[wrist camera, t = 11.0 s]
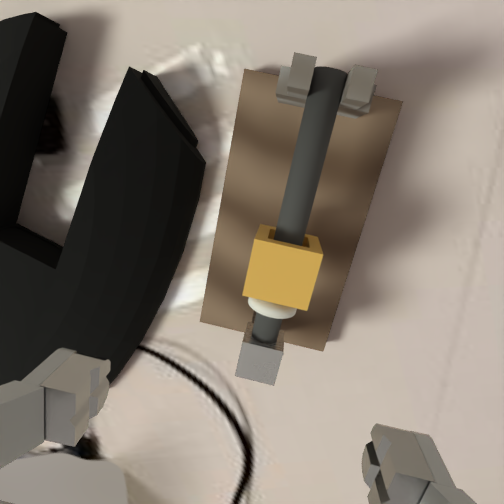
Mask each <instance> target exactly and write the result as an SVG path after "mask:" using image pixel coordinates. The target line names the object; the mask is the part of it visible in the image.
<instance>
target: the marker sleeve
mask: <svg viewBox="0 0 504 504" xmlns="http://www.w3.org/2000/svg"><path fill="white" fill-rule="evenodd" d="M275 231H276V227H272V226H268V225H263V224H260V226H259V229H258V231H257V234H256V236H255V239H254V243H253V248H252V252H251V257H250V261H249V266H248V271H247V275H246V280H245V285H244V289H243V294H242V296H246V297H251V298H255V299H259V300H263V301H267V302H272V303H276V304H280V305H284V306H288V307H293V308H297V309H301V310H305V311H307V310H308V306H309V303H310V299H311V296H312V292H313V289H314V285H315V282H316V278H317V275H318V271H319V268H320V265H321V261H322V258H323V252H322V249H321V245H320V242H319V239H318V237H316V236H312V235H307V234H305V236H304V240H303V244H302V246H299V245H294V244H290V243H286V242H281V241H277V240H274V235H275Z"/></svg>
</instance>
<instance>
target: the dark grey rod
mask: <svg viewBox="0 0 504 504" xmlns="http://www.w3.org/2000/svg"><path fill="white" fill-rule="evenodd" d="M346 78H347V73H345V72H344V71H341V70H338V69H335V68H330V67H315V68H314V72H313V76H312V80H311V84H310V89H309V92H308V95H307V99H306V103H305V108H304V112H303V116H302V120H301V125H300V129H299V133H298V137H297V142H296V146H295V150H294V154H293V159H292V163H291V167H290V172H289V176H288V180H287V184H286V189H285V193H284V197H283V201H282V206H281V210H280V214H279V218H278V223H277V227H276V231H275V235H274V240H277V241H281V242H286V243H290V244H294V245H299V246H302V244H303V240H304V236H305V233H306V229H307V225H308V221H309V217H310V214H311V210H312V206H313V202H314V199H315V195H316V191H317V187H318V183H319V180H320V176H321V172H322V168H323V165H324V161H325V157H326V153H327V149H328V146H329V142H330V138H331V134H332V131H333V127H334V123H335V119H336V115H337V112H338V108H339V104H340V100H341V96H342V93H343V89H344V85H345V81H346ZM248 304H249V306H250V307H251V308H252V309H253V310H255V311H256V316H255V321H254V325H253V329H252V336H253V338H254V339H255V340H257V341H259V342H261V343H265V344H272V343H275V342H276V341H277V338H278V335H279V331H280V327H281V323H282V320H283V319H287V318H291V317H293V316H294V315H295V314H296V310H297V308H293V307H288V306H284V305H280V304H276V303H272V302H267V301H263V300H259V299H255V298H251V297H249V299H248Z"/></svg>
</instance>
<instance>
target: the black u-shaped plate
mask: <svg viewBox="0 0 504 504" xmlns="http://www.w3.org/2000/svg"><path fill="white" fill-rule="evenodd" d="M59 26H60V24H58V23H56V22H54V21H52V20H50V19H48V18H47V17H45V16H43V15H41V14H39V13H37V12H33V13H28V14H23V15H19V16H15V17H12V18H8V19H4V20H2V21H0V386H1V385H3V384H6V383H9V382H12V381H15V380H16V381H22V380H23V379H24V378H25V377H26V376H27V375H28V374H30V373H31V372H32V371H33V370H34V369H35V368H36V367H38V366H39V365H40V364H41V363H42V362H43V361H44V360H46V359H47V358H48V357H49V356H50V355H51V354H52V353H54V352H55V351H56V350H57V349H59V348H66V349H70V350H74V351H77V352H78V351H79V352H83V353H87V354H90V355H94V356H98V357H102V358H105V359H108V360H109V361H110V362H111V364H110V372H109V373H108V374H107V376H106V378H107V379H108V381H109V385H110V384H111V383H112V381H113V380H114V379H115V378H116V377H117V376H118V374H119V373H120V372H121V370H122V369H123V367H124V366H125V364H126V363H127V361H128V360H129V358H130V357H131V356H132V354H133V353H134V351H135V350H136V348H137V347H138V345H139V344H140V342H141V341H142V339H143V338H144V336H145V334H146V332H147V330H148V328H149V326H150V324H151V322H152V320H153V319H154V317H155V315H156V313H157V311H158V309H159V307H160V305H161V303H162V302H163V300H164V298H165V295H166V293H167V290H168V288H169V285H170V283H171V280H172V278H173V275H174V273H175V270H176V268H177V266H178V263H179V261H180V258H181V256H182V253H183V251H184V247H185V244H186V240H187V237H188V234H189V230H190V227H191V224H192V220H193V217H194V214H195V210H196V207H197V203H198V200H199V196H200V190H201V185H202V180H203V175H204V169H205V164H206V162H205V160H204V159H203V157H202V156H201V154H200V153H199V151H198V150H197V148H196V146H197V144H198V139H197V138H196V136H195V135H194V133H193V132H192V130H191V128H190V127H189V125H188V124H187V122H186V121H185V119H184V118H183V116H182V115H181V113H180V111H179V110H178V108H177V107H176V105H175V104H174V102H173V101H172V99H171V98H170V96H169V95H168V93H167V91H166V90H165V88H164V87H163V85H162V84H161V82H160V81H159V79H158V78H157V77H156V76H154V75H152V74H151V73H149V72H147V71H145V70H143V73H141V72H139V71H137V70H135V69H133V68H131V67H129V68H128V71H127V73H126V75H125V78H124V80H123V83H122V85H121V87H120V90H119V92H118V94H117V97H116V99H115V102H114V104H113V107H112V110H111V112H110V115H109V117H108V120H107V122H106V125H105V127H104V130H103V133H102V135H101V138H100V140H99V143H98V146H97V148H96V151H95V153H94V156H93V159H92V161H91V164H90V167H89V170H88V173H87V176H86V180H85V183H84V186H83V189H82V192H81V195H80V198H79V201H78V204H77V207H76V210H75V213H74V216H73V219H72V222H71V225H70V228H69V231H68V234H67V237H66V240H65V243H64V247H62V246H60V245H58V244H56V243H54V242H52V241H50V240H48V239H46V238H44V237H42V236H40V235H38V234H36V233H34V232H32V231H30V230H28V229H26V228H25V227H23V226H21V225H19V224H17V223H16V222H17V218H18V215H19V211H20V207H21V203H22V200H23V196H24V192H25V189H26V185H27V181H28V177H29V174H30V170H31V166H32V162H33V159H34V155H35V151H36V148H37V144H38V140H39V136H40V133H41V129H42V125H43V122H44V118H45V114H46V110H47V107H48V103H49V99H50V96H51V92H52V88H53V84H54V81H55V77H56V73H57V70H58V66H59V62H60V58H61V55H62V51H63V47H64V43H65V40H66V36H67V32H65V31H63V30H62V29H60V28H59Z"/></svg>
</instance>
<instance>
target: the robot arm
mask: <svg viewBox="0 0 504 504" xmlns="http://www.w3.org/2000/svg"><path fill="white" fill-rule="evenodd" d="M110 364H111V362H110V361H109V360H108V359H105V358H102V357H98V356H94V355H90V354H87V353H83V352H79V351H78V352H77V351H74V350H70V349H66V348H59V349H57V350H56V351H55V352H54V353H52V354H51V355H50V356H49V357H48V358H47V359H46V360H44V361H43V362H42V363H41V364H40V365H39V366H38V367H36V368H35V369H34V370H33V371H32V372H31V373H30V374H28V375H27V376H26V377H25V378H24V379H23V380H22V381H16V380H15V381H12V382H9V383H6V384H3V385H1V386H0V469H1V468H2V467H4V466H6V465H7V464H9V463H11V462H12V461H14V460H16V459H17V458H19V457H20V456H22V455H24V454H25V453H27V452H29V451H30V450H32V449H33V448H35V447H37V446H38V445H40V444H42V443H43V442H44V440H46V441H51V442H55V443H60V444H65V445H69V446H75V445H76V444H77V442H78V441H79V439H80V438H81V437H82V435H83V434H84V433H85V431H86V430H87V428H88V425H89V419H90V418H92V417H94V416H96V415H97V414H98V413H99V411H100V410H101V409H102V407H103V405H104V403H105V400H106V398H107V395H108V391H109V381H108V379H107V378H106V376H107V374H108V373H109V372H110ZM371 437H372V440H373V441H371V442H370V443H368V444H366V446H365V449H364V452H363V456H362V473H363V478H364V481H365V483H366V484H367V485H368V486H369V488H370V492H369V494H368V496H367V497H368V501H369V504H477V503H475V502H474V501H473V500H472V499H471V498H470V497H469V496H468V495H467V494H466V493H465V492H464V491H463V490H462V489H458V488H456V486H455V484H454V482H453V480H452V478H451V476H450V474H449V472H448V470H447V468H446V466H445V464H444V462H443V460H442V458H441V456H440V454H439V452H438V450H437V448H436V446H435V443H434V441H433V439H432V438H431V437H430V436H429V435H427V434H422V433H418V432H413V431H407V430H403V429H399V428H394V427H390V426H386V425H381V424H377V423H376V424H375V425H374V426H373V429H372V431H371ZM0 504H12V503H9V502H5V501H1V500H0Z"/></svg>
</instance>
